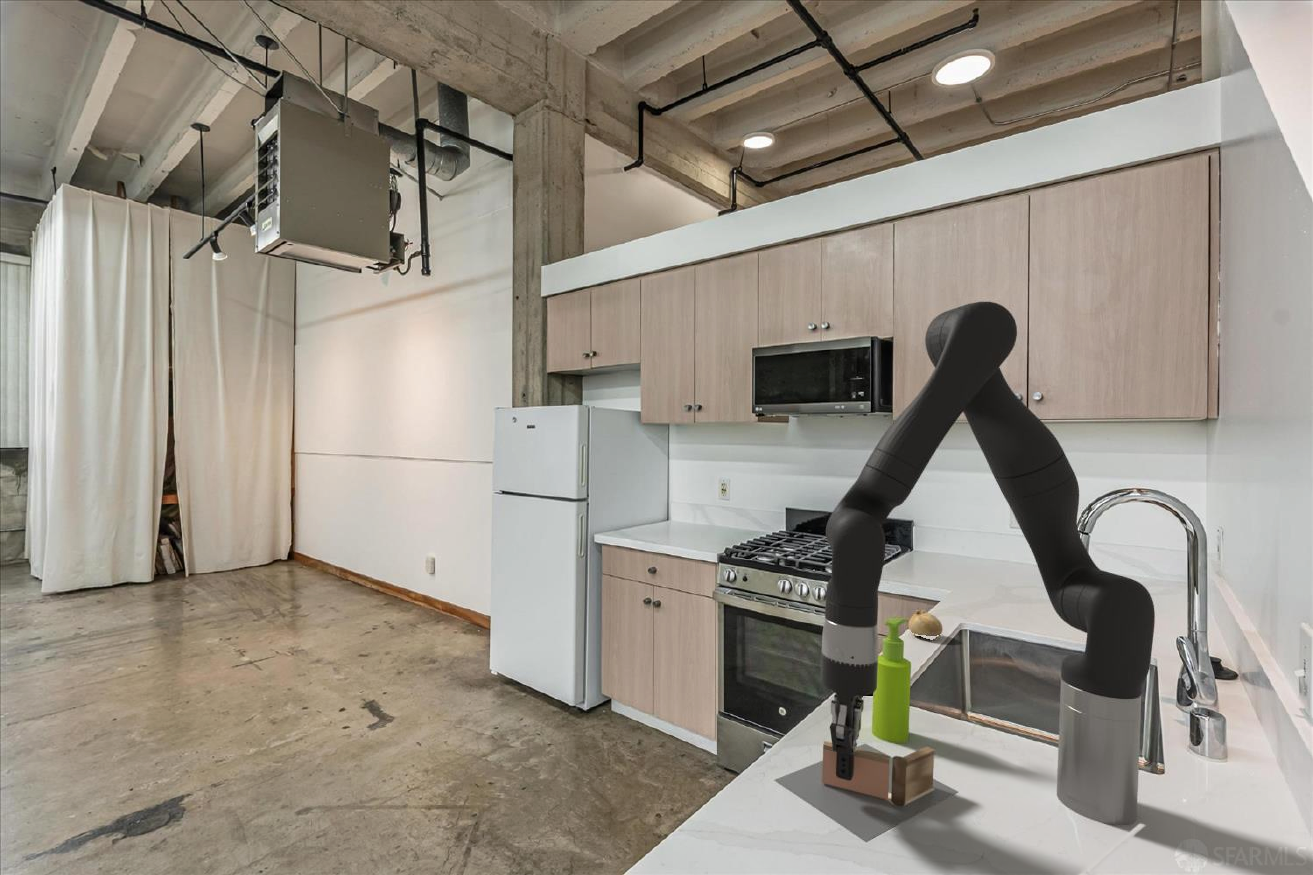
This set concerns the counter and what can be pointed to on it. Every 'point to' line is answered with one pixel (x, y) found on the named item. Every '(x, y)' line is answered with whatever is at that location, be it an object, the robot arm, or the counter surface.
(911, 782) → the fixed fence section
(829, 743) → the hinged fence section
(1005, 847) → the counter surface
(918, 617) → the onion
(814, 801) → the card
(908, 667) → the soap dispenser
